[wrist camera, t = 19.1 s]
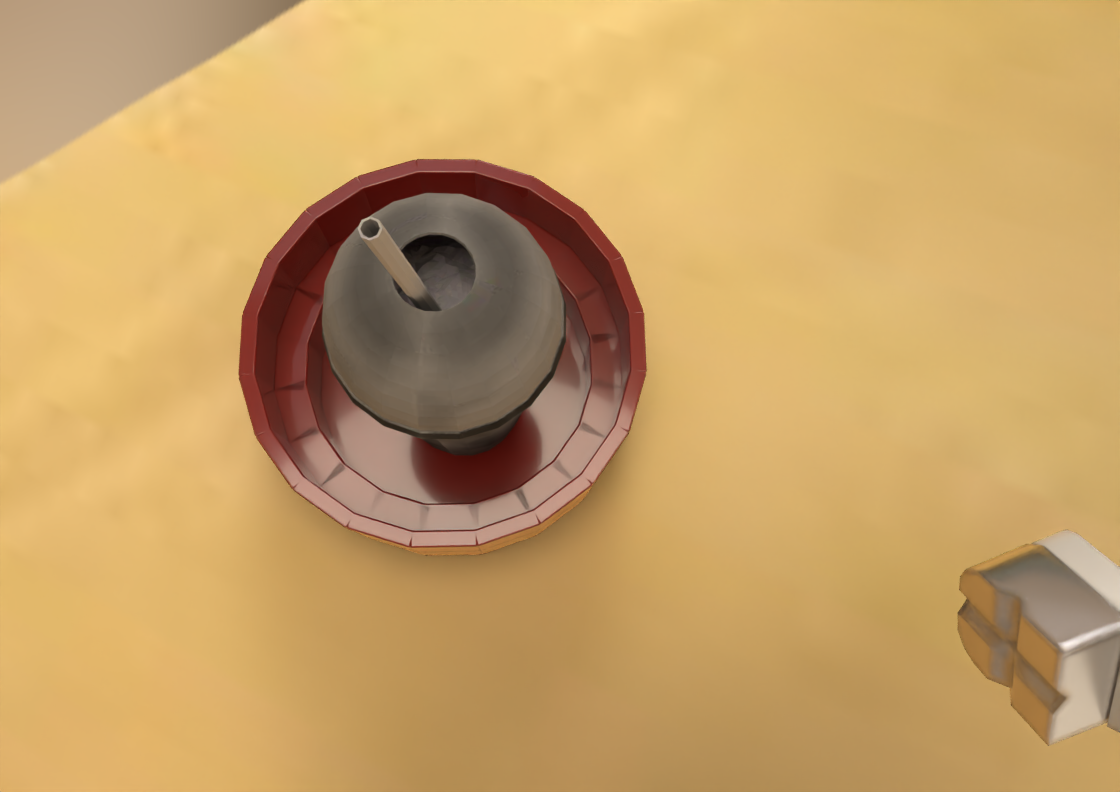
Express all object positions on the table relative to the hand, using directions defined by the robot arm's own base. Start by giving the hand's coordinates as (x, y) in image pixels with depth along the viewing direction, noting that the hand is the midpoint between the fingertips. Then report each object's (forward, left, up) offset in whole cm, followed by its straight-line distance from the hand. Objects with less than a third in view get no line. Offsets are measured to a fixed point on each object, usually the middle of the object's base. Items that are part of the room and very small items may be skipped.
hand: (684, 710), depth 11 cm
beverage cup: (-5, -9, -25) cm, 27 cm away
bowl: (-6, -10, -25) cm, 28 cm away
